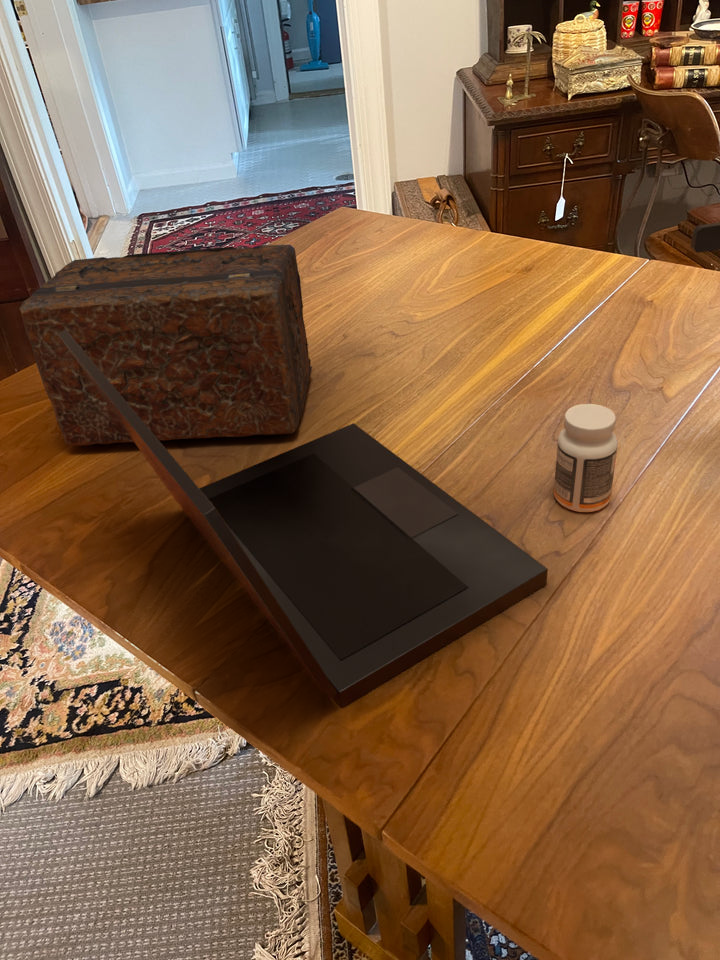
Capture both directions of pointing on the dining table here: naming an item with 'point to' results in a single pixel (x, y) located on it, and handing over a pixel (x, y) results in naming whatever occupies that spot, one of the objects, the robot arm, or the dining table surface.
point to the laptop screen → (200, 514)
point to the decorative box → (175, 343)
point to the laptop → (369, 556)
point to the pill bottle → (586, 458)
